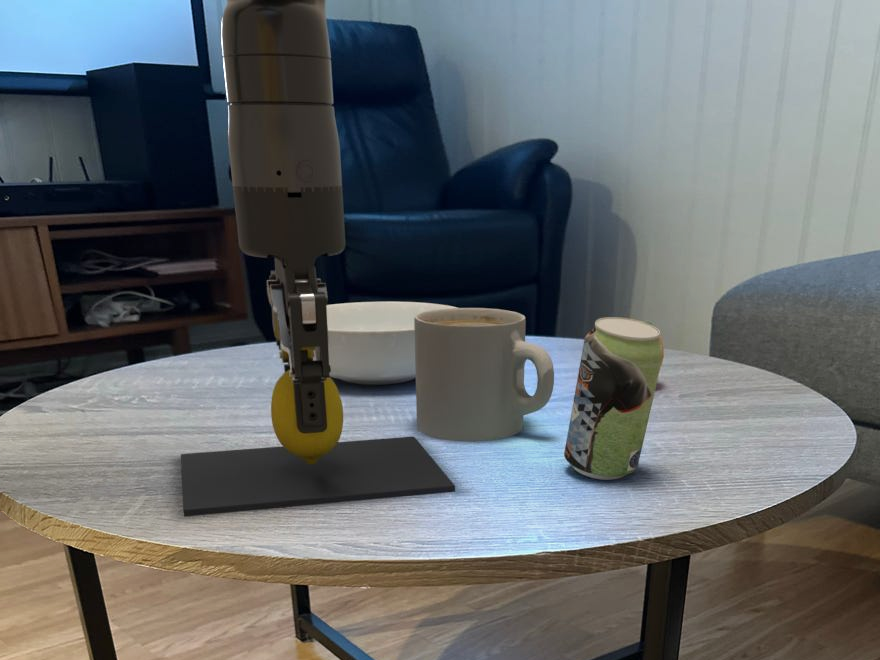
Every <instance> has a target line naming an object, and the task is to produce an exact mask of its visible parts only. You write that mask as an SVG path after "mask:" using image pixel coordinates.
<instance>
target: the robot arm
mask: <svg viewBox="0 0 880 660" xmlns="http://www.w3.org/2000/svg"><path fill="white" fill-rule="evenodd" d="M326 2H327V0H226V6H225V7H224V9H223V12H222V18H221V24H220V25H221V31H220V35H221V36H220V37H221V49H222V51H221V53H222V62H223V72H224V81H225V82H224V83H225V91H226V98H227V99H226V101H227V103H228V105H227V110H228V111H227V112H228V125H227V127H228V129H227V130H228V131H227V136H228V137H227V141H228V143H227V144H228V154H229V164H230V172H231V173H230V174H231V182H232V191H233V193H232V194H233V201H234V202H233V203H234V210H235V222H236V231H237V239H238V247H239V249H240V251H241V253H243V254H245V255H247V256H249V257H256V258H264V259H265V258H266V259H269V258H274V270H270V275H269V279H267V280H266V294H267V299H268V303H269V305H270V307H271V321H272V328H273V329H272V330H273V334H274V337H275V343H276V344H275V345H276V346H277V347H278V350H279V352H278V355H279V359H280V360H281V364H283V370H284V371H283V372H284V373H285V372H287V371H288V370H291V371H289V375H290V378H292V382H293V389H294V401H295V412H296V424H297V428H298V430H299V431H300V432H301V433H319V432H324V431H325V430H326V429H327V415H326V401H325V387H324V381H326V378H329V373H330V372H331V368H330V365H329V352H328V343H329V334H328V326H327V307H326V305H329V299H328V291H327V284H326V282H322V280H321V278H317V268H316V265H315V262H316V260H317V259H318V258H319V257H330V256H337V255H339V254H341V253H342V252H343V251H344V250H345V248H346V229H345V213H344V212H345V211H344V196H343V177H342V176H343V175H342V161H341V160H342V158H341V145H340V138H339V132H338V127H337V122H336V121H337V120H336V116H335V115H336V114H335V107H334V106H333V105H334V90H333V89H334V88H333V74H332V73H333V71H332V60H331V59H332V55H331V54H332V53H331V45H330V37H329V31H328V30H329V29H328V24H327V17H326V16H327V15H326V14H327V13H326V4H327V3H326ZM314 352H315V354H316V360H314V361H313V357H315V354H314Z"/></svg>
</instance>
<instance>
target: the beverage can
mask: <svg viewBox="0 0 880 660" xmlns="http://www.w3.org/2000/svg"><path fill="white" fill-rule="evenodd" d="M645 322H646V321H641V320H637V319H632V318H627V317H620V316H619V317H618V316H617V317H616V316H608V317H600V318H597V319H596V320H595V321H594V327H593V328H592V329H591V330H590V331H589V332H588V333H587V334H586V336H585V337H584V341H583V345H582V350H581V357H580V363H579V368H578V372H577V373H578V374H577V378H576V383H575V384H576V385H575V390H574V396H573V402H572V407H571V414H570V418H569V424H568V430H567V434H566V435H567V436H566V441H565V447H564V452H563V455H564V456H563V457H564V458H565V460H566V462H568V463H569V465H571V466H572V468H573V469H574V471H576V472H578V473H579V474H581V475H583V476H585V477H589V478H591V479H595V480H603V481H609V480H617V479H620V478H624V477H625V476H627V475H631V474H632V473H634V472H636V471H637V469H638V467H639V462H640V460H641V459H640V458H641V454H642V449H643V446H644V442H645V441H644V440H645V436H646V432H647V428H648V423H649V418H650V414H651V410H652V406H653V403H654V402H653V401H654V397H655V392H656V388H657V384H658V380H659V375H660V370H661V367H662V365H661V362H662V358H663V359H664V357H663V350H664V345H663V343H662V344H661V341H662V340H661V341H660V339H661V338H660V339H659V337H660V336H661V330H659V328H658V327H656V326H654V325H653V324H652V325H653V326H652V325H650V324H648V323H645ZM662 345H663V346H662ZM662 363H663V362H662Z"/></svg>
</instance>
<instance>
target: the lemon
mask: <svg viewBox="0 0 880 660" xmlns="http://www.w3.org/2000/svg"><path fill="white" fill-rule="evenodd" d="M289 371H291V370H288V371H287V372H285V371H284V373H283V374H282V375H281V376H280V377H279V378H278V380H277V381H276V382H275V384H274V387H273V389H272V394H271V395H272V396H271V401H270V417H271V424H272V428H273V431H274V433H275V434H274V435H275V436H276V438H277V440H278V442H279V443H280V444H281V447H282V446H283V447H284V448H285V449H287V450H288V451H289V452H290V453H292V454H294V455H296V456H299V457H301V458H302V459H303V460H304V461H305V462H307V463H308V464H314V463H316V462H317V460H318V459H319V458H320V457H321V456H322V455H324V454H326V453H328V452H329V451H331V450H332V449H333V448H334V446H335V445H336V444H337V442H340V441H339V440H340V438H341V435H342V433H343V426H344V406H343V402H342V399H341V394H340V392H339V389H338V387H337V385H336V384H335V382H334V380H333V379H332V377H329V378H326V381H324V387H325V401H326V415H327V429H326V430H325V431H324V432H319V433H301V432H300V431H299V430H298V428H297V424H296V412H295V401H294V389H293V382H292V378H290V375H289Z"/></svg>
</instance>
